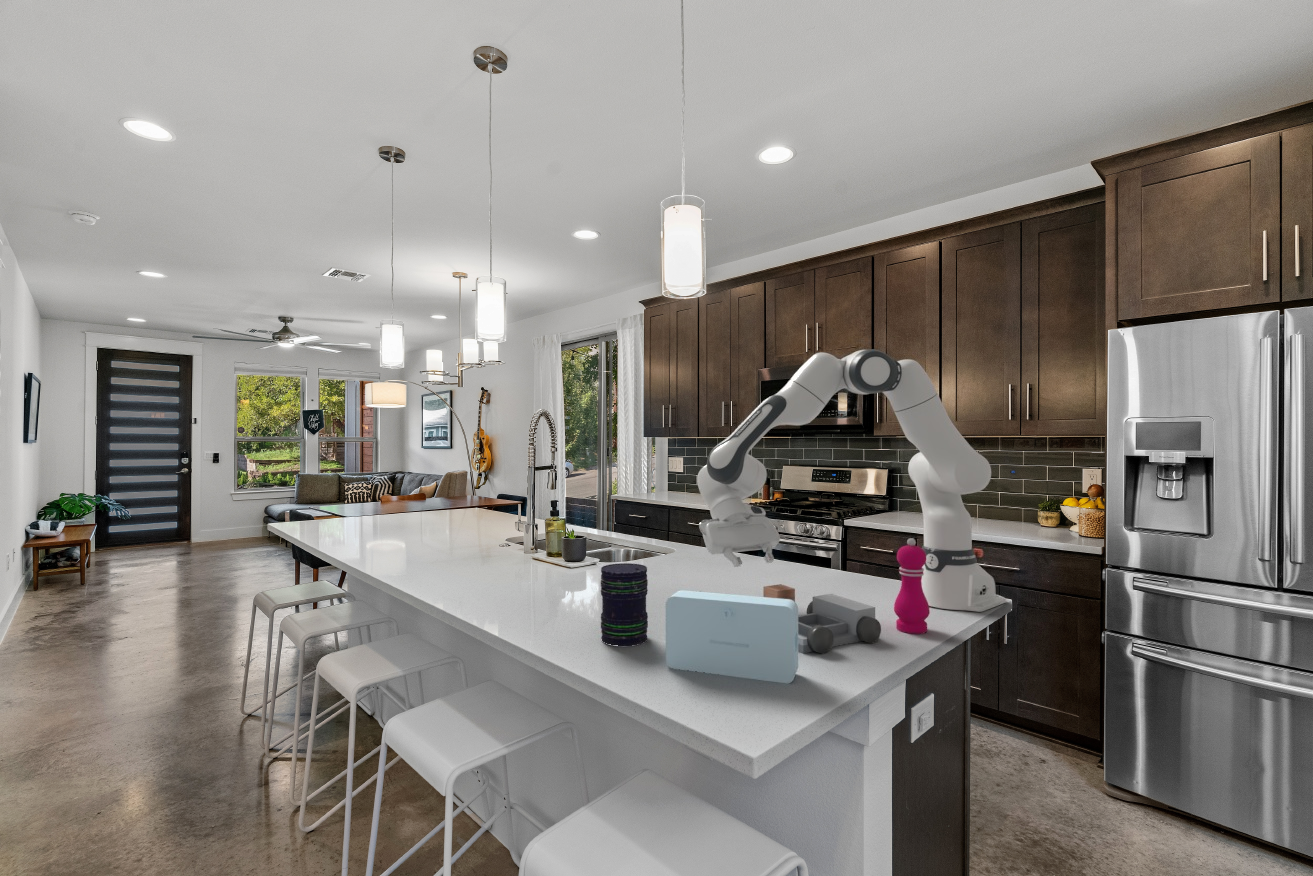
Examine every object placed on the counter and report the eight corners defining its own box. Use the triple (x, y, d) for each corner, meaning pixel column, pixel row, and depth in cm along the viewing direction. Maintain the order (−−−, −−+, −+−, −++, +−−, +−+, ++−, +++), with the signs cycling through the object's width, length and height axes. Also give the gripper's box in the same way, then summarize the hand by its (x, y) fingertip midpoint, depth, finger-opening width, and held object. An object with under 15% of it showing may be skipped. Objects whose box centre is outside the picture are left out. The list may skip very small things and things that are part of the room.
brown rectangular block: (780, 618, 148) (780, 584, 148) (795, 624, 143) (794, 588, 143) (763, 621, 146) (763, 586, 146) (777, 627, 141) (777, 591, 141)
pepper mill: (888, 630, 139) (888, 538, 139) (901, 622, 144) (901, 534, 144) (922, 637, 134) (922, 542, 134) (934, 629, 139) (934, 538, 139)
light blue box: (664, 669, 116) (664, 596, 116) (674, 659, 121) (674, 589, 121) (793, 686, 108) (793, 608, 108) (798, 674, 113) (798, 600, 113)
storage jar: (592, 643, 130) (592, 570, 130) (612, 630, 139) (611, 562, 139) (637, 649, 127) (637, 574, 127) (654, 634, 136) (654, 565, 136)
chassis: (826, 619, 147) (826, 591, 147) (884, 640, 132) (884, 609, 131) (756, 632, 137) (756, 602, 137) (810, 656, 122) (809, 622, 122)
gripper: (701, 512, 154) (723, 559, 146) (768, 508, 164) (793, 551, 155) (691, 528, 158) (713, 575, 150) (758, 523, 168) (782, 566, 159)
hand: (754, 563), depth 153 cm, fingers open, 8 cm apart
